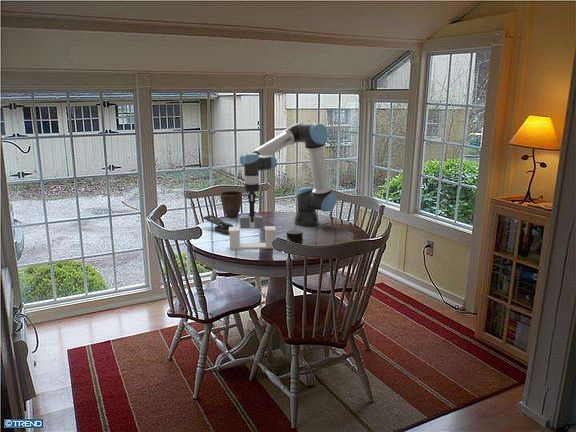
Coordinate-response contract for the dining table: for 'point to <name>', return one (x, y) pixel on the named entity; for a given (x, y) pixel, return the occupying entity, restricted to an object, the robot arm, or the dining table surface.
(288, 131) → the robot arm
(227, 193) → the plant pot
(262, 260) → the dining table surface
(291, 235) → the coffee mug
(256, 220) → the grey rectangular block
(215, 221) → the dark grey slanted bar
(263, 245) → the white u-shaped cradle
